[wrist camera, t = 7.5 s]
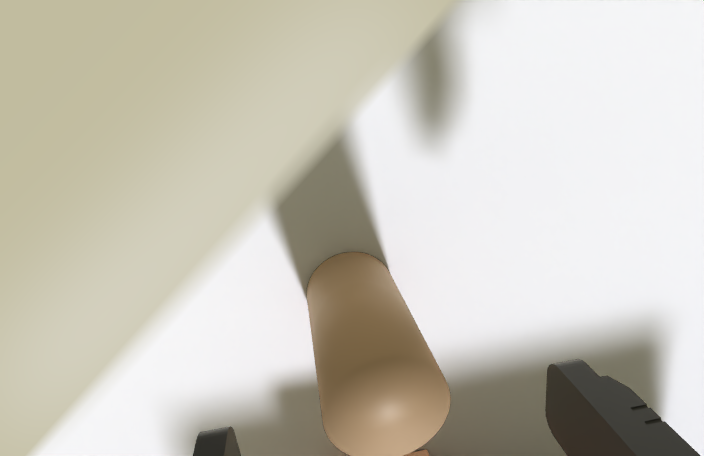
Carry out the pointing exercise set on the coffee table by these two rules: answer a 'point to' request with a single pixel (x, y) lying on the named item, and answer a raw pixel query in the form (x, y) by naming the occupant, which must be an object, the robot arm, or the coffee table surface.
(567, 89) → the coffee table surface
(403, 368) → the tethered block
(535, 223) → the coffee table surface
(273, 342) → the coffee table surface
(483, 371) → the coffee table surface
